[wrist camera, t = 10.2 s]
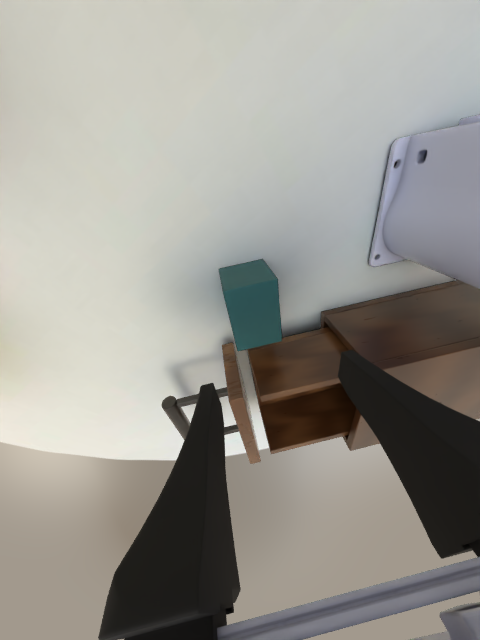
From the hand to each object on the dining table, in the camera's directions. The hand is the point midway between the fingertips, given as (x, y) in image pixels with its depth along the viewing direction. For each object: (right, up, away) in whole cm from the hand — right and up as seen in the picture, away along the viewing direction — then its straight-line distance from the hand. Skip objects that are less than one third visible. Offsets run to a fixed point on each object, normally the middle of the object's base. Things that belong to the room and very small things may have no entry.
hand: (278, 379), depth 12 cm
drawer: (+1, -3, +14) cm, 15 cm away
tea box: (-2, +6, +8) cm, 10 cm away
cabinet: (+16, +1, +15) cm, 22 cm away
